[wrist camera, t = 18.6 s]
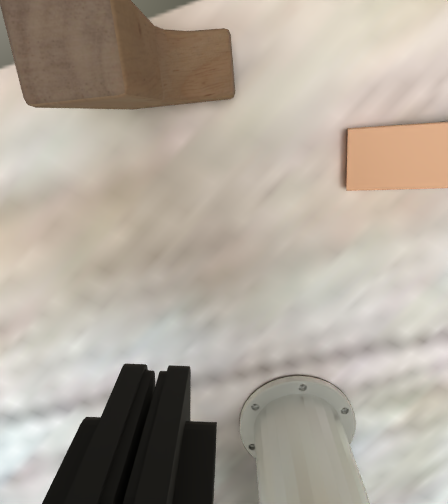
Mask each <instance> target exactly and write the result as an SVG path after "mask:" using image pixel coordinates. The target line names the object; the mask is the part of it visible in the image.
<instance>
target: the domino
mask: <svg viewBox="0 0 448 504" xmlns="http://www.w3.org/2000/svg"><path fill="white" fill-rule="evenodd" d="M429 188H448V122H438V123H423V124H408V125H393V126H378V127H364V128H349V129H348V137H347V179H346V189H347V191H354V190H391V189H429Z"/></svg>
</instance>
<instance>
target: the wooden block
mask: <svg viewBox="0 0 448 504" xmlns="http://www.w3.org/2000/svg"><path fill="white" fill-rule="evenodd" d="M0 6H1V9H2V13H3V17H4V21H5V25H6V29H7V33H8V37H9V41H10V45H11V49H12V53H13V57H14V61H15V65H16V69H17V73H18V77H19V81H20V85H21V89H22V93H23V97H24V99H25V101H26V103H27V104H28V105H30V106H33V107H38V108H91V109H140V108H150V107H159V106H168V105H178V104H187V103H197V102H206V101H216V100H225V99H231V98H233V97H234V94H235V84H234V72H233V60H232V47H231V35H230V32H229V30H227V29H224V28H223V29H211V30H198V31H176V30H164V29H161V28H159V27H156V26H154V25H153V24H152V23H151V22H150V21H149V20H148V19H147V17H146V16H145V15H144V14H143V13H142V12H141V11H140V10H139V9H138V8H137V7H136V6H135V4H133V2H132V1H131V0H0Z"/></svg>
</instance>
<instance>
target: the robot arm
mask: <svg viewBox="0 0 448 504" xmlns="http://www.w3.org/2000/svg"><path fill="white" fill-rule="evenodd" d="M190 378H191V371H190V366H168V370H167V371H160V373H159V376H158V379H157V383H156V387H155V372H154V371H148V369H147V365H144V364H124V365H123V367H122V369H121V372H120V374H119V376H118V379H117V381H116V383H115V386H114V388H113V390H112V393H111V395H110V397H109V400H108V402H107V404H106V407H105V409H104V411H103V414H102V416H101V418H100V417H86V418H85V419H84V420H83V421H82V423H81V425H80V427H79V429H78V431H77V433H76V435H75V437H74V439H73V441H72V443H71V445H70V447H69V449H68V451H67V453H66V455H65V457H64V460H63V462H62V464H61V466H60V468H59V470H58V472H57V474H56V476H55V478H54V480H53V482H52V484H51V486H50V488H49V490H48V492H47V495H46V497H45V499H44V501H43V503H42V504H213V498H214V478H215V455H216V427H217V422H194V421H190ZM355 428H356V421H355V415H354V412H353V409H352V407H351V404H350V403H349V401H348V399H347V398H346V396H345V395H344V394H343V393H342V392H341V391H340V390H339V389H338V388H336V387H335V386H333V385H332V384H330V383H328V382H326V381H324V380H321V379H317V378H313V377H307V376H291V377H285V378H280V379H277V380H274V381H272V382H269V383H267V384H265V385H264V386H262V387H261V388H259V389H258V390H256V391H255V392H254V393H253V394H252V395H251V396H250V397H249V399H248V400H247V402H246V403H245V405H244V407H243V409H242V412H241V416H240V435H241V440H242V442H243V444H244V446H245V448H246V449H247V451H248V452H249V453H250V455H252V456H253V457H254V458H255V459H256V465H257V480H258V494H259V504H370V502H369V499H368V496H367V493H366V490H365V487H364V484H363V482H362V479H361V476H360V473H359V470H358V467H357V465H356V462H355V459H354V456H353V453H352V450H351V447H350V443H351V442H352V440H353V437H354V434H355Z"/></svg>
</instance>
